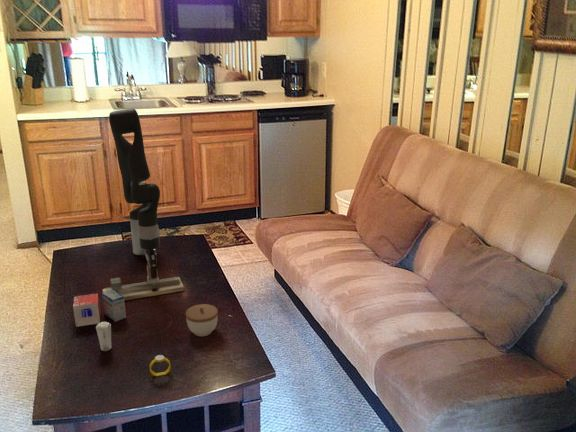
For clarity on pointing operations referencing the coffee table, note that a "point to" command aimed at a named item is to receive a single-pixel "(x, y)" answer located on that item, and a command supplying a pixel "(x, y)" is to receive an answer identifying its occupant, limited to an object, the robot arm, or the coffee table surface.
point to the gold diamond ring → (160, 359)
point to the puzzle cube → (86, 309)
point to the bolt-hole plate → (149, 293)
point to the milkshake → (104, 335)
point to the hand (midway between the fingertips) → (152, 273)
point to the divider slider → (150, 280)
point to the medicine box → (113, 305)
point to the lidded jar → (202, 319)
